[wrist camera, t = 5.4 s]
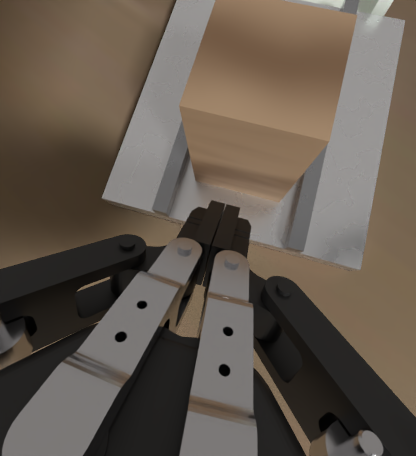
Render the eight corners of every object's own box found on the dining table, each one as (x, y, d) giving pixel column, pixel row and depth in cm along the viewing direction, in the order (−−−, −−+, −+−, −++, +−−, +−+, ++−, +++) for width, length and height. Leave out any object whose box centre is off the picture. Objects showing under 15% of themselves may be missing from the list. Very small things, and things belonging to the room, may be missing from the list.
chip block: (279, 202, 18) (329, 141, 10) (195, 180, 18) (178, 105, 10) (298, 125, 19) (357, 14, 11) (218, 107, 19) (219, -12, 11)
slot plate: (348, 270, 18) (369, 269, 16) (110, 204, 20) (95, 193, 17) (392, 38, 22) (414, 7, 19) (187, -3, 23) (183, -37, 21)
